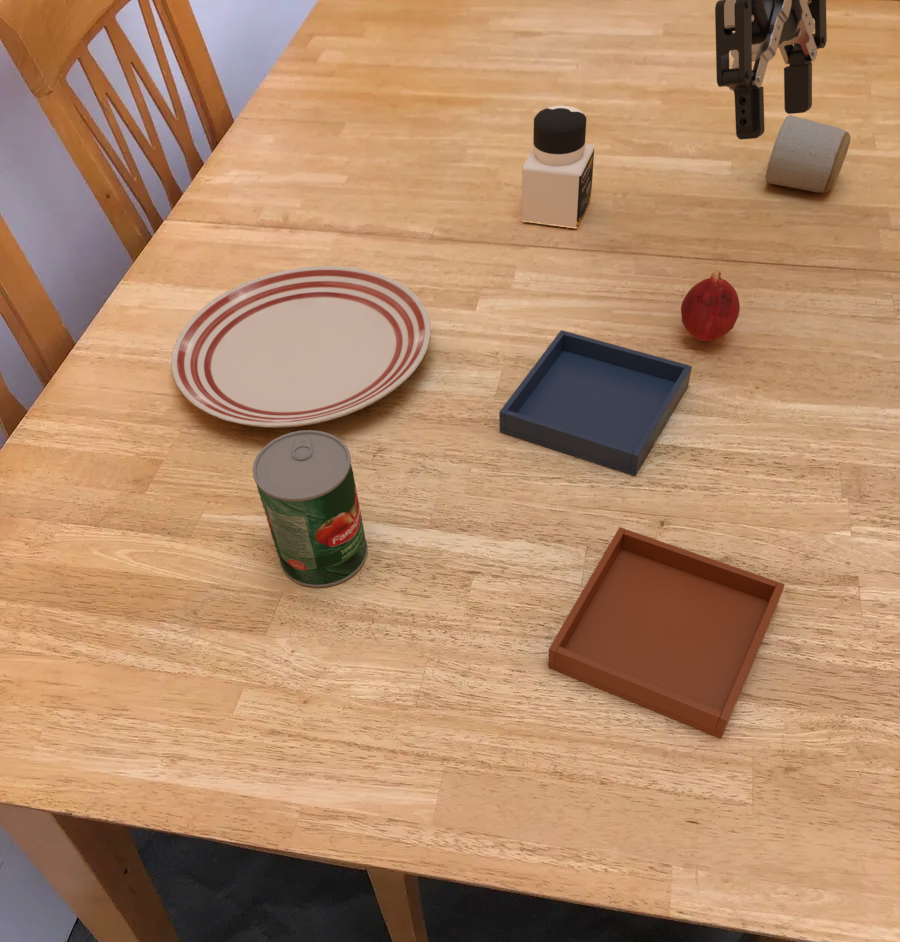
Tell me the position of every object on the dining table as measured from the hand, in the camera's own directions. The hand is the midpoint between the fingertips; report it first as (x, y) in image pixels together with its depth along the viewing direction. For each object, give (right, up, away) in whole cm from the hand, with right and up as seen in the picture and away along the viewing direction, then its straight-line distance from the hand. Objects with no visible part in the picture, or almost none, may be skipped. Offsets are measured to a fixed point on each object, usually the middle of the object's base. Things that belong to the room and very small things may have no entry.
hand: (775, 124), depth 80 cm
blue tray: (-14, -22, +12) cm, 29 cm away
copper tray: (-11, -44, -5) cm, 46 cm away
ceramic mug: (+16, +12, +37) cm, 42 cm away
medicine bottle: (-15, +7, +35) cm, 39 cm away
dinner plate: (-44, -16, +20) cm, 50 cm away
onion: (-1, -14, +18) cm, 23 cm away
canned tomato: (-39, -37, +3) cm, 54 cm away
